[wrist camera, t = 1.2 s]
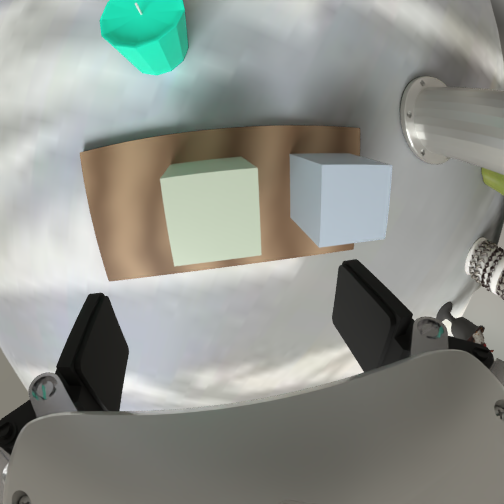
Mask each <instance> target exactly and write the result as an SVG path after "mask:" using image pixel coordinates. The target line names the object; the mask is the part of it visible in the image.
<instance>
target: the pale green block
mask: <svg viewBox="0 0 504 504" xmlns="http://www.w3.org/2000/svg"><path fill="white" fill-rule="evenodd" d="M160 183H161V190H162V197H163V204H164V211H165V217H166V223H167V229H168V235H169V241H170V246H171V252H172V257H173V262H174V266H182V265H190V264H198V263H206V262H213V261H221V260H229V259H237V258H244V257H252V256H260V255H261V231H260V207H259V185H258V168H257V167H256V166H254V165H253V164H251V163H250V162H248V161H247V160H245V159H244V158H242V157H231V158H220V159H210V160H201V161H193V162H185V163H177V164H170V166H169V167H168V168H167V170H166V171H165V172H164V174H163V175H162V177H161V178H160Z"/></svg>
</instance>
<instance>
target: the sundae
mask: <svg viewBox="0 0 504 504" xmlns="http://www.w3.org/2000/svg"><path fill="white" fill-rule="evenodd" d="M451 310H452V303H451V302H449V303H446V304H445V305H444V306H443V307H442V308H441V309H440V310H439V312H438V314H437V317H436V319H437V320H439V321H441V322H442V321H443V320H445V319H448V320H449V321H450V322H451V323H452V326H451V332H452V334H453V336H454V337H455V338H459V339H463V340H467V341H471V342H475V343H479V344H482V345H484V346H486V344H485V343H484V336H483V334H482V333H483V332H484V329H485V328H484V327H483V326H476V325H474V324H473V323H472V322H470V321H469V320H467V319H465V318H464V317H459V318H454V317H453V316H452V315H451V314H450V312H451ZM490 351H491V352H493V351H494V350H490Z"/></svg>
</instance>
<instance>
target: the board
mask: <svg viewBox="0 0 504 504" xmlns="http://www.w3.org/2000/svg"><path fill="white" fill-rule="evenodd" d="M303 153H349V154H353V155H357V156H360V128H353V127H336V126H302V125H287V126H252V127H235V128H222V129H210V130H201V131H192V132H184V133H176V134H169V135H162V136H156V137H150V138H144V139H139V140H133V141H128V142H123V143H118V144H114V145H109V146H105V147H101V148H96V149H92V150H88V151H84V152H81V153H80V159H81V165H82V172H83V178H84V184H85V189H86V194H87V199H88V204H89V209H90V214H91V218H92V222H93V226H94V231H95V235H96V238H97V242H98V246H99V250H100V253H101V257H102V260H103V264H104V267H105V270H106V274H107V277H108V280H109V281H117V280H125V279H134V278H142V277H150V276H158V275H167V274H175V273H183V272H191V271H198V270H206V269H214V268H222V267H229V266H237V265H245V264H252V263H259V262H267V261H274V260H282V259H289V258H296V257H303V256H311V255H318V254H325V253H332V252H339V251H346V250H353V248H354V243H351V244H343V245H336V246H328V247H321V248H319V247H318V246H317V245H316V244H315V243H314V242H313V241H312V240H311V239H310V237H309V236H308V235H307V234H306V233H305V232H304V231H303V230H302V229H301V228H300V227H299V226H298V225H297V224H296V223H295V222H294V221H293V220H292V219H291V218H290V154H303ZM231 157H242V158H244V159H245V160H247V161H248V162H250V163H251V164H253V165H254V166H256V167H257V168H258V185H259V207H260V231H261V255H260V256H252V257H244V258H237V259H229V260H221V261H213V262H206V263H198V264H190V265H182V266H174V262H173V257H172V252H171V246H170V241H169V235H168V229H167V223H166V217H165V211H164V204H163V197H162V190H161V183H160V178H161V177H162V175H163V174H164V172H165V171H166V170H167V168H168V167H169V166H170V164H177V163H185V162H193V161H201V160H210V159H220V158H231Z"/></svg>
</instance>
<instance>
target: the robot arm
mask: <svg viewBox="0 0 504 504" xmlns="http://www.w3.org/2000/svg"><path fill="white" fill-rule="evenodd" d="M400 117H401V125H402V130H403V134H404V136H405V139H406V142H407V143H408V145H409V147H410V149H411V150H412V152H413V153H414V154H415V155H416V156H417V157H418V158H419V159H420V160H422V161H424V162H427V163H430V164H436V165H438V164H443V163H444V162H446V161H448V160H449V159H450V158H453V159H457V160H460V161H463V162H467V163H470V164H473V165H476V166H479V167H482V168H485V169H488V170H491V171H494V172H497V173H499V174H502V175H504V91H501V90H492V89H481V88H464V87H447V86H446V85H445V84H444V83H443V82H442V81H441V80H439V79H437V78H435V77H431V76H422V77H418V78H416V79H414V80H412V81H411V82H410V83H409V84H408V86H407V87H406V89H405V91H404V94H403V97H402V101H401V107H400ZM412 316H413V314H412V313H411V312H410V311H409V310H408V309H407V307H406V306H405V305H404V304H403V303H402V302H401V301H400V300H399V299H398V298H397V297H396V296H395V295H394V294H393V293H392V292H391V291H390V290H389V289H388V288H387V287H385V286H384V285H383V284H382V283H381V282H380V281H379V280H378V279H377V278H376V277H375V276H374V275H373V274H372V273H371V272H370V271H369V270H368V269H367V268H366V267H365V266H364V265H363V264H361V263H360V262H359V261H358V260H357V259H355V260H348V261H344V262H343V263H342V265H340V266H339V269H338V278H337V286H336V294H335V301H334V308H333V315H332V320H333V324H334V325H335V327H336V329H337V330H338V332H339V333H340V335H341V336H342V338H343V339H344V341H345V343H346V344H347V346H348V347H349V349H350V350H351V352H352V354H353V355H354V357H355V358H356V360H357V361H358V363H359V365H360V366H361V368H362V369H363V371H364V373H361V374H358V375H355V376H351V377H348V378H345V379H341V380H338V381H334V382H331V383H327V384H324V385H320V386H316V387H312V388H308V389H304V390H300V391H295V392H291V393H286V394H282V395H277V396H272V397H267V398H261V399H256V400H250V401H244V402H238V403H231V404H224V405H216V406H207V407H198V408H187V409H174V410H157V411H119V409H120V402H121V395H122V389H123V383H124V377H125V371H126V366H127V360H128V355H129V349H128V345H127V343H126V341H125V338H124V336H123V333H122V331H121V329H120V326H119V324H118V321H117V318H116V316H115V313H114V311H113V308H112V305H111V302H110V300H109V298H108V296H105V295H104V294H103V293H95V294H89V295H88V297H87V299H86V301H85V303H84V305H83V307H82V309H81V311H80V313H79V315H78V317H77V319H76V322H75V324H74V326H73V328H72V330H71V333H70V335H69V337H68V339H67V342H66V344H65V346H64V349H63V351H62V353H61V356H60V358H59V361H58V363H57V366H56V367H57V370H56V372H55V374H54V373H50V372H48V373H43V374H41V375H39V376H37V377H36V378H35V379H34V380H33V381H32V382H31V384H30V387H29V391H28V392H29V397H30V400H28V401H27V402H26V403H24V404H23V405H21V406H20V407H18V408H17V409H15V410H14V411H12V412H11V413H9V414H8V415H7V416H5V417H4V418H2V419H1V420H0V504H504V361H502V360H500V359H498V358H496V360H494V358H493V354H492V353H491V351H490V350H489V349H488V348H487V347H486V346H484V345H482V344H479V343H475V342H471V341H467V340H463V339H459V338H455V337H451V336H448V332H447V328H446V327H445V325H444V324H443V323H442V322H441V321H439V320H437V319H436V318H432V317H426V316H425V317H420V318H418V319H416V320H415V321H414V320H413V319H412Z"/></svg>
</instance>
